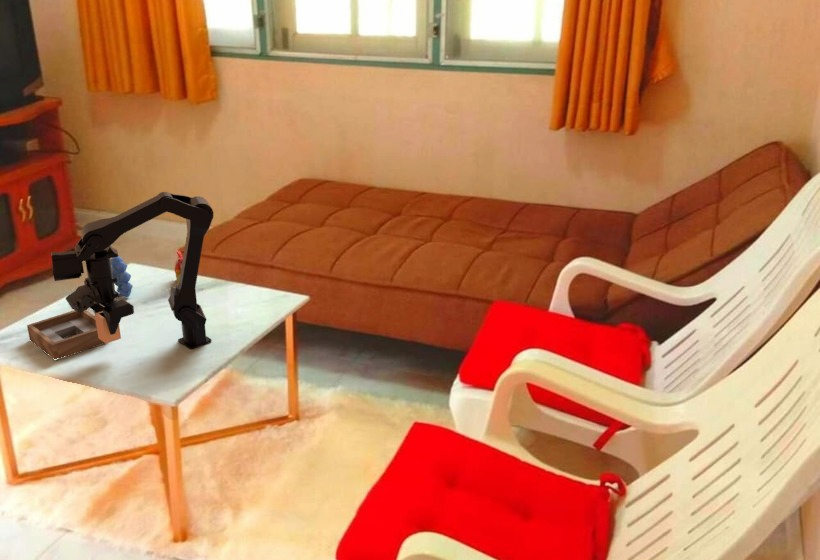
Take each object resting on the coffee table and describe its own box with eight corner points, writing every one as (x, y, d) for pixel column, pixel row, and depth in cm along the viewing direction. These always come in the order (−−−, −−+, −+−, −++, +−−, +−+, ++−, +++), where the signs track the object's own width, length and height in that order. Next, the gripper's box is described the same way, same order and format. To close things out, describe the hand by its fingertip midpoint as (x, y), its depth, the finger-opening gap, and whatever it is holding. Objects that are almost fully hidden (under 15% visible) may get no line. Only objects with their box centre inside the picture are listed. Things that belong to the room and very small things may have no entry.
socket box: (111, 340, 204) (109, 325, 202) (55, 360, 194) (52, 345, 192) (84, 322, 213) (82, 307, 211) (29, 340, 203) (26, 325, 201)
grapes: (102, 291, 232) (96, 254, 227) (124, 285, 236) (119, 249, 231) (116, 305, 224) (110, 267, 219) (138, 299, 227) (134, 261, 223)
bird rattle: (170, 289, 239) (181, 287, 232) (161, 254, 238) (171, 251, 231) (189, 284, 243) (200, 282, 236) (180, 250, 242) (191, 247, 235)
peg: (121, 338, 195) (117, 313, 192) (106, 343, 192) (102, 318, 190) (113, 333, 198) (109, 308, 195) (98, 338, 195) (94, 313, 192)
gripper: (50, 272, 188) (60, 329, 194) (86, 296, 177) (95, 355, 183) (94, 260, 196) (102, 315, 202) (131, 282, 184) (138, 339, 190)
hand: (108, 331), depth 194 cm, fingers closed on peg, 4 cm apart
